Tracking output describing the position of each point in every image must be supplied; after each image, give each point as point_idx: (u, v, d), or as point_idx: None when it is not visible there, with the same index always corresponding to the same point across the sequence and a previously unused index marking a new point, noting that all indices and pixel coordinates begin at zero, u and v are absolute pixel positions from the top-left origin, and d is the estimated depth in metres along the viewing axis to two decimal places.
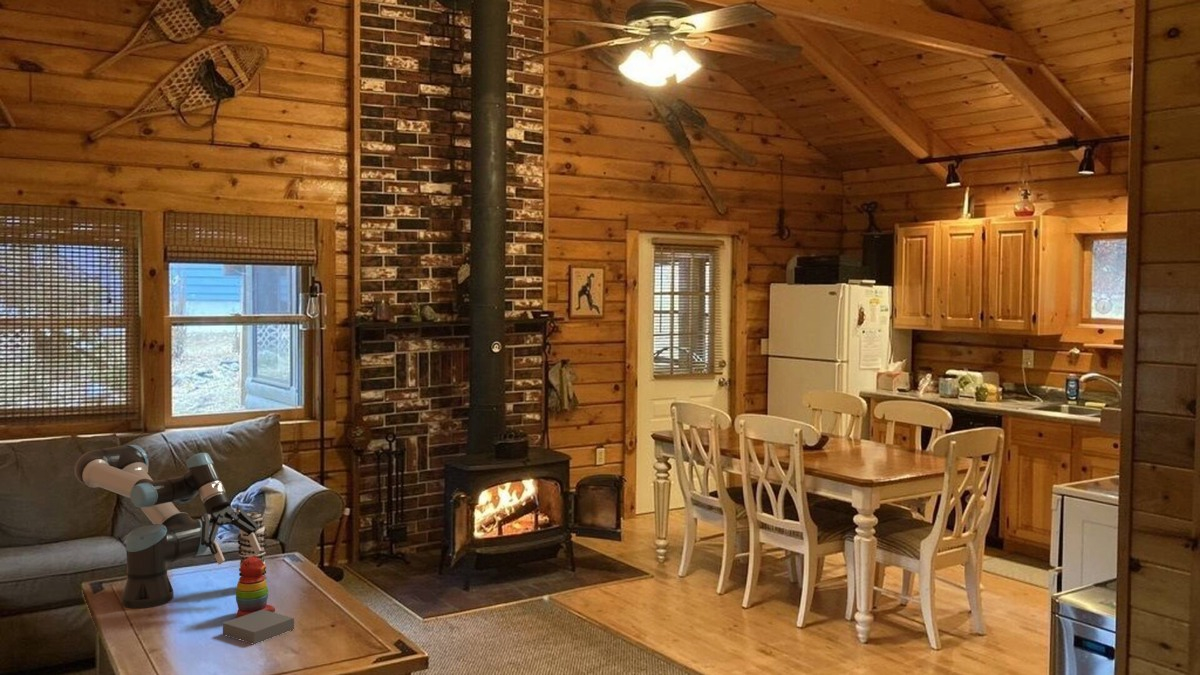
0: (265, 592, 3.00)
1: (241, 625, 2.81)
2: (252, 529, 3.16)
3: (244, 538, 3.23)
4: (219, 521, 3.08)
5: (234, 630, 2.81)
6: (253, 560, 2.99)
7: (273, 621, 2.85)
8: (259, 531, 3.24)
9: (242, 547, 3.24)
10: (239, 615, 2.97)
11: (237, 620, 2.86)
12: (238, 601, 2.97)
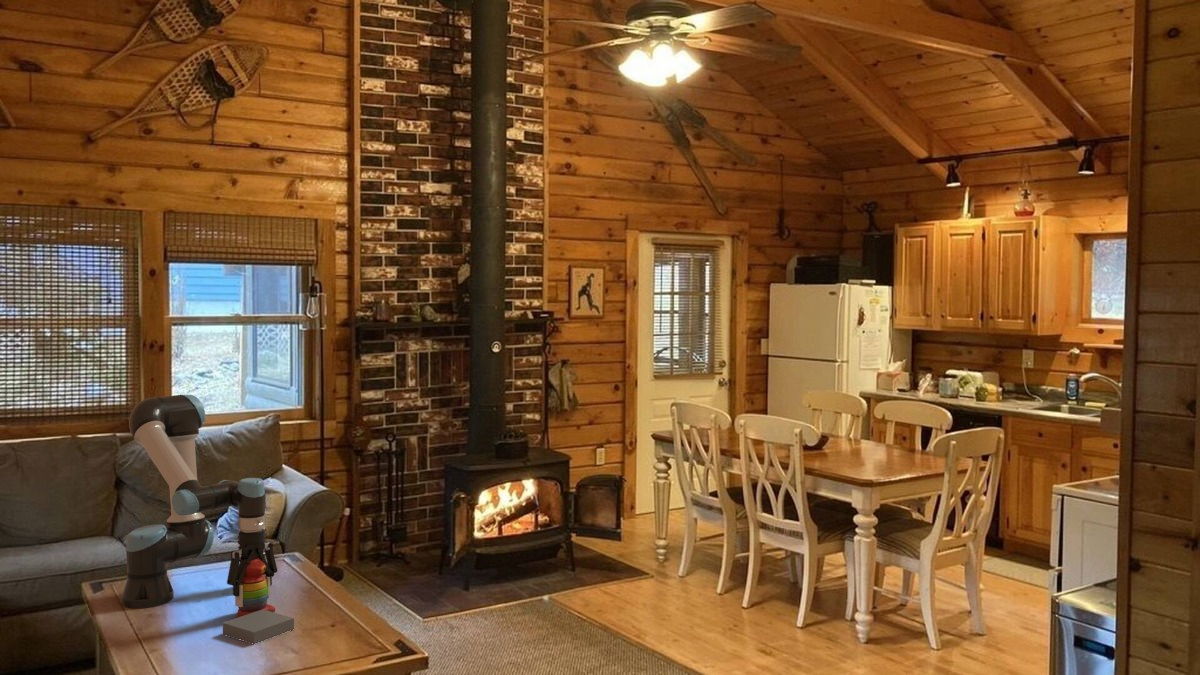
0: (265, 592, 3.00)
1: (241, 625, 2.81)
2: (270, 573, 3.04)
3: None
4: (248, 561, 2.97)
5: (234, 630, 2.81)
6: (253, 560, 2.99)
7: (273, 621, 2.85)
8: None
9: None
10: (239, 615, 2.98)
11: (237, 620, 2.86)
12: None
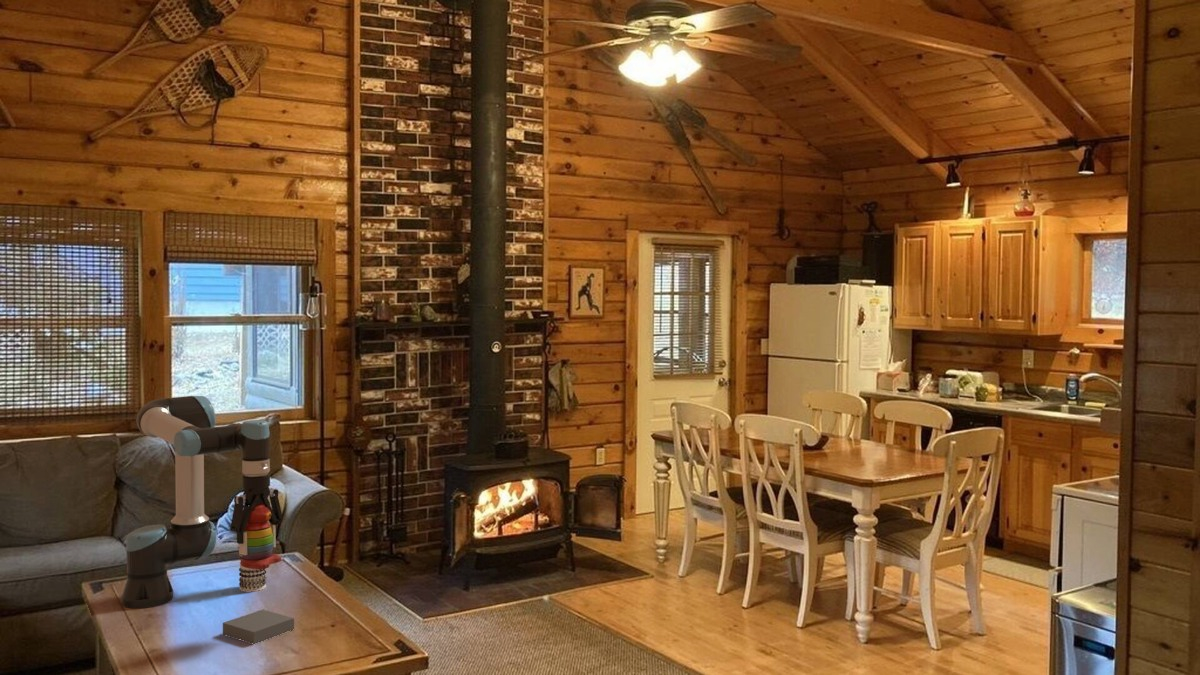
0: (271, 540, 2.85)
1: (241, 625, 2.81)
2: (275, 521, 2.89)
3: None
4: (253, 506, 2.82)
5: (234, 630, 2.81)
6: (258, 505, 2.84)
7: (273, 621, 2.85)
8: None
9: None
10: (243, 564, 2.82)
11: (237, 620, 2.86)
12: None
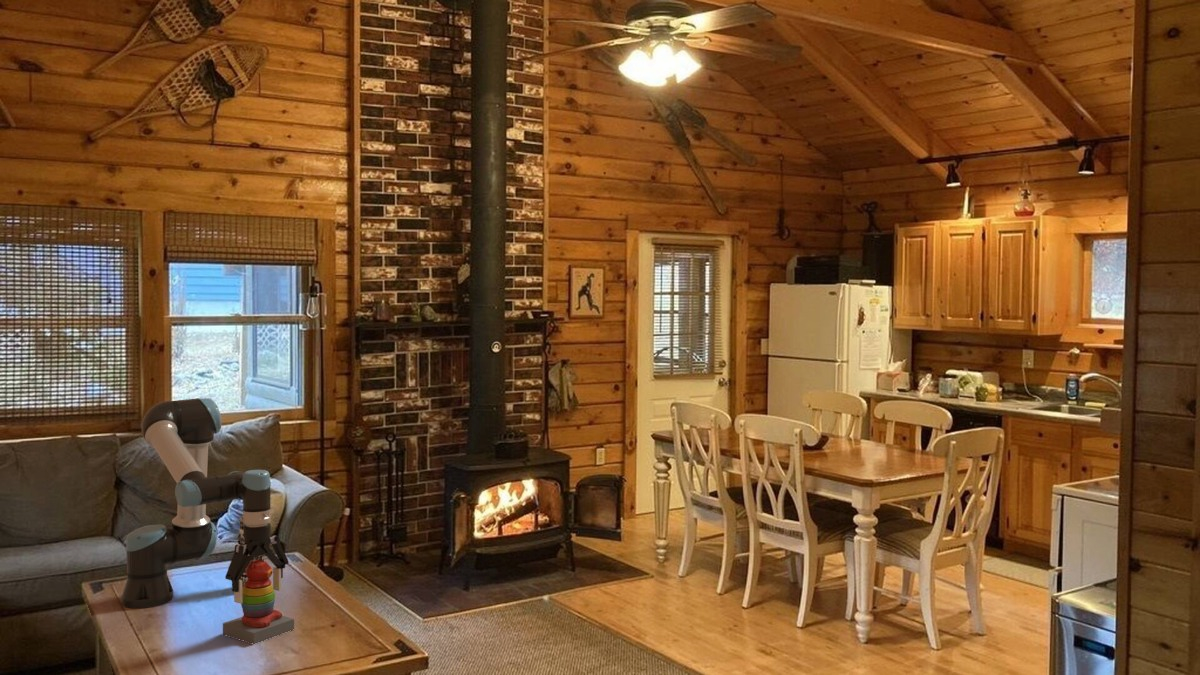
0: (272, 597, 2.85)
1: (241, 626, 2.81)
2: (281, 565, 2.90)
3: None
4: (252, 556, 2.81)
5: (234, 631, 2.81)
6: (259, 563, 2.83)
7: (273, 622, 2.85)
8: None
9: None
10: (244, 621, 2.82)
11: (238, 620, 2.86)
12: (243, 606, 2.82)
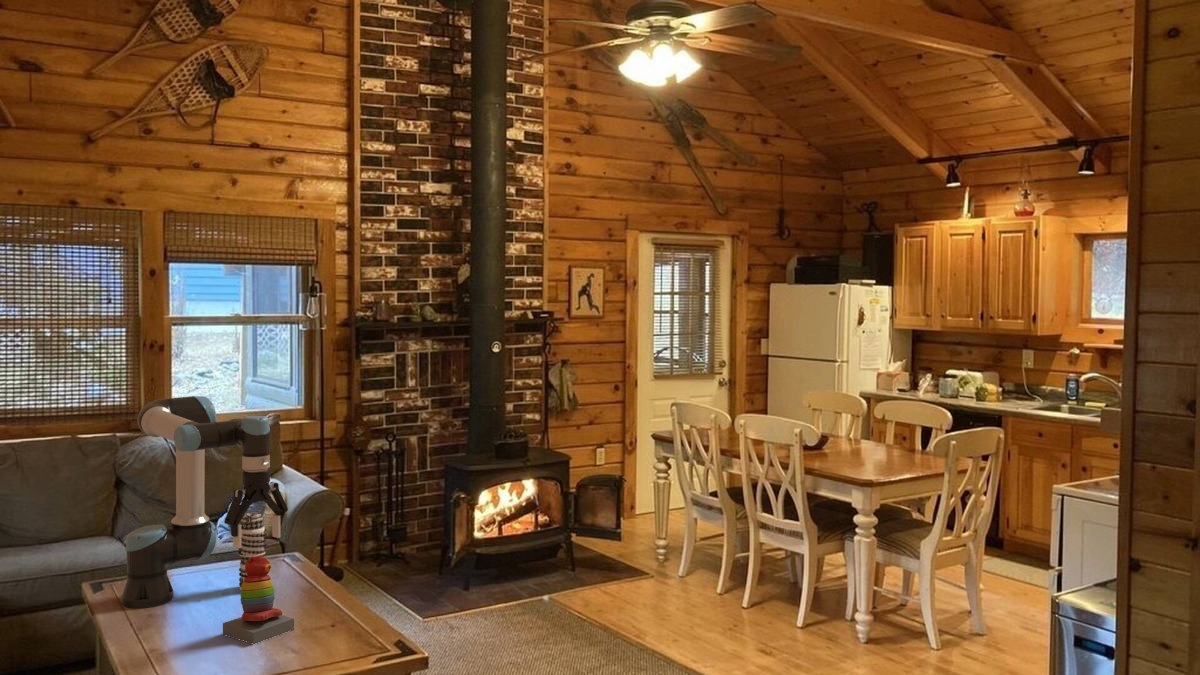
0: (270, 592, 2.85)
1: (241, 625, 2.81)
2: (280, 511, 2.90)
3: (244, 538, 3.23)
4: (251, 501, 2.80)
5: (234, 631, 2.81)
6: (257, 557, 2.86)
7: (273, 622, 2.85)
8: (259, 531, 3.24)
9: (242, 547, 3.24)
10: (243, 617, 2.83)
11: (237, 620, 2.86)
12: (242, 601, 2.83)
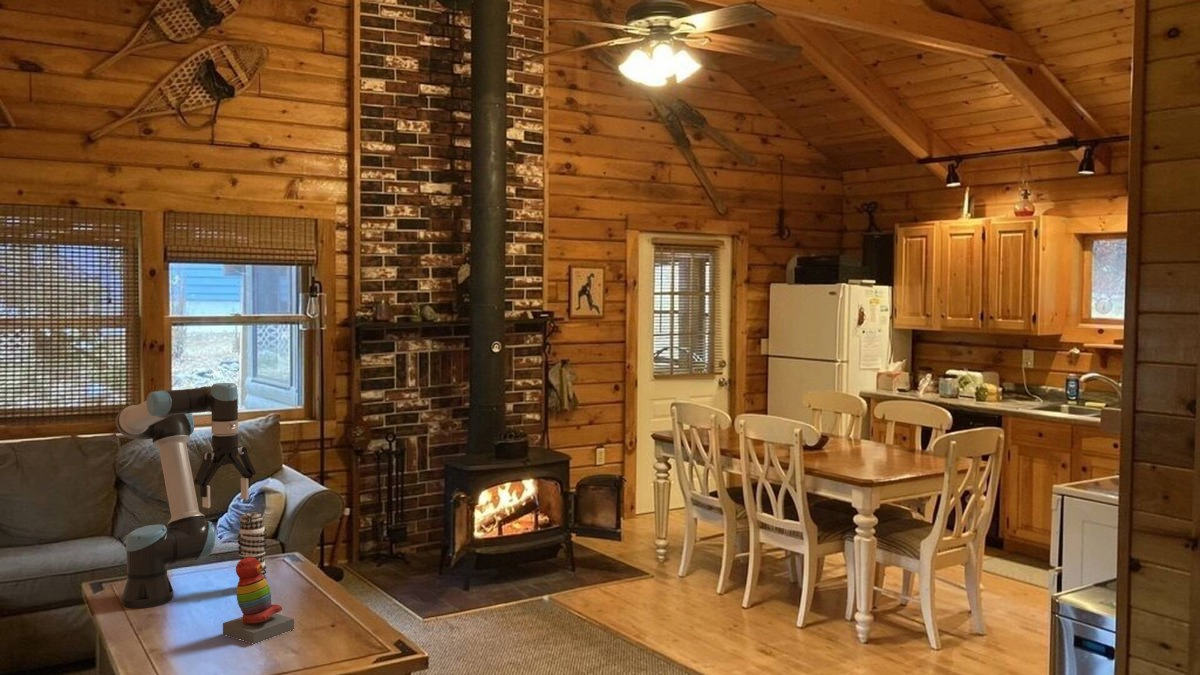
0: (266, 591, 2.85)
1: (241, 626, 2.81)
2: (248, 475, 3.04)
3: (244, 538, 3.23)
4: (220, 464, 2.95)
5: (234, 631, 2.81)
6: (247, 560, 2.84)
7: (273, 622, 2.85)
8: (259, 531, 3.24)
9: (242, 547, 3.24)
10: (244, 619, 2.83)
11: (237, 620, 2.86)
12: (240, 605, 2.82)
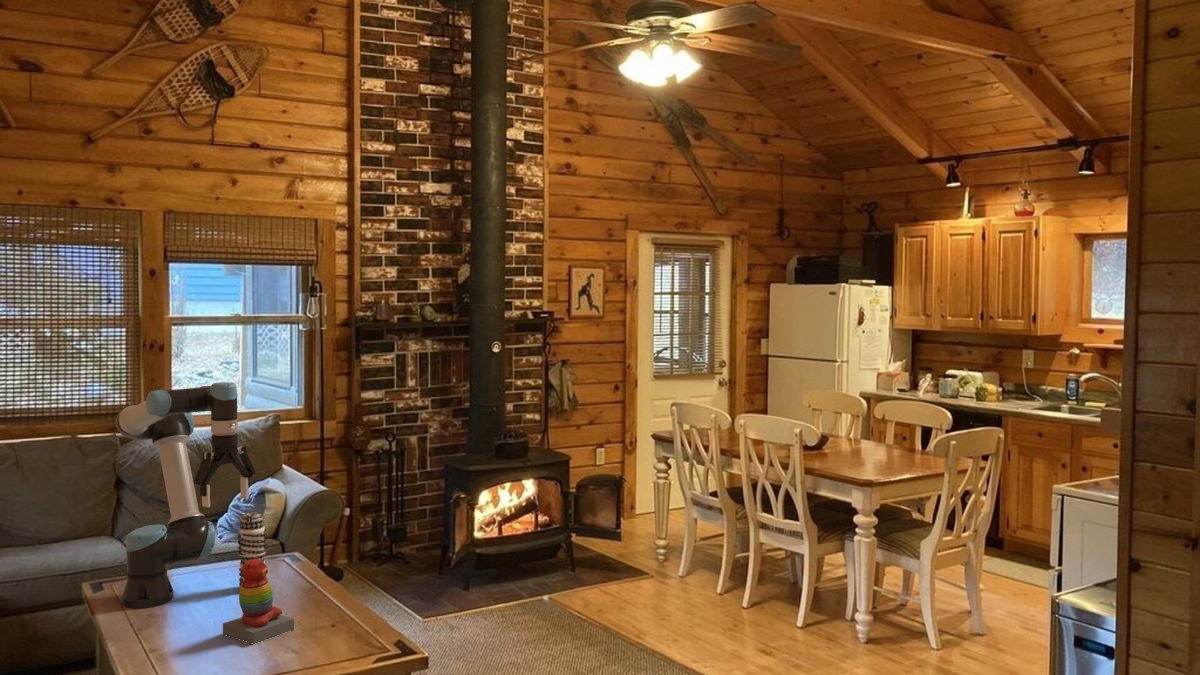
0: (269, 595, 2.84)
1: (241, 626, 2.81)
2: (248, 474, 3.05)
3: (244, 538, 3.23)
4: (219, 463, 2.95)
5: (234, 631, 2.81)
6: (253, 562, 2.83)
7: (273, 622, 2.85)
8: (259, 531, 3.24)
9: (242, 547, 3.24)
10: (243, 620, 2.83)
11: (237, 621, 2.86)
12: (241, 606, 2.83)
